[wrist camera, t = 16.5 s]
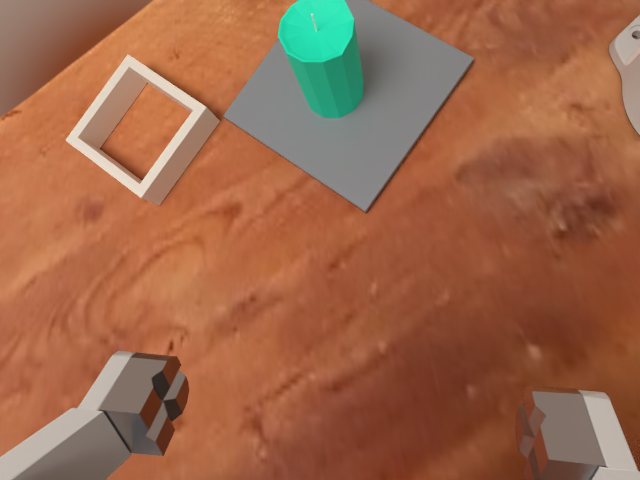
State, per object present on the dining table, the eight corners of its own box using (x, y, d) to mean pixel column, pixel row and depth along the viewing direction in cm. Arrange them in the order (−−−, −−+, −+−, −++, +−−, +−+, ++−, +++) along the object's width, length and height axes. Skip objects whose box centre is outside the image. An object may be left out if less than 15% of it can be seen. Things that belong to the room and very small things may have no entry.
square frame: (146, 71, 50) (127, 54, 46) (220, 121, 48) (206, 107, 44) (88, 151, 50) (65, 140, 46) (159, 205, 47) (140, 197, 44)
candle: (310, 125, 45) (279, 61, 33) (300, 70, 46) (266, -10, 34) (369, 110, 44) (359, 40, 32) (358, 55, 45) (344, -33, 33)
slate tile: (325, -18, 48) (323, -24, 47) (472, 63, 44) (473, 58, 43) (226, 119, 47) (222, 115, 46) (365, 213, 44) (365, 211, 43)
